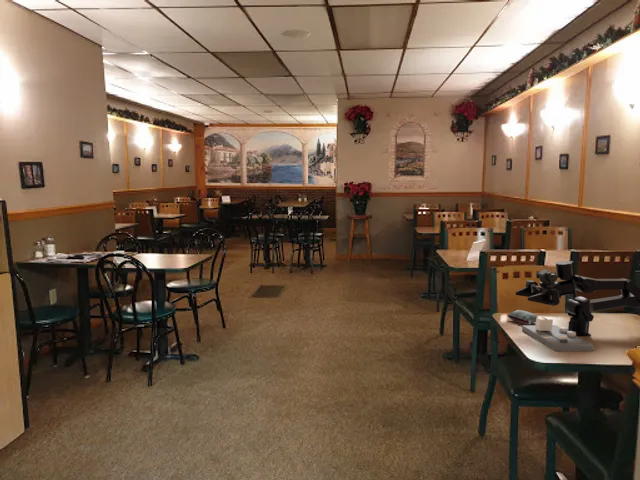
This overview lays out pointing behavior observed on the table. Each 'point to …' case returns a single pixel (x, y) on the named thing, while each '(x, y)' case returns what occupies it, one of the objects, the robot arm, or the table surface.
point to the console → (558, 338)
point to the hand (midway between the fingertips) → (521, 296)
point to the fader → (544, 323)
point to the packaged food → (523, 317)
